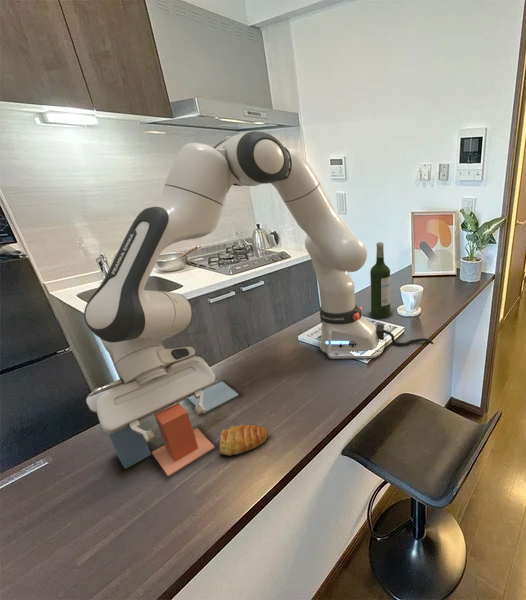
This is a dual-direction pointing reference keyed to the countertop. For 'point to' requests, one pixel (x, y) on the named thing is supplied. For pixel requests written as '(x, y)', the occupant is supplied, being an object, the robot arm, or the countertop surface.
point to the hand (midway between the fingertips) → (177, 425)
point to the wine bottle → (380, 285)
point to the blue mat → (215, 396)
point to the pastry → (241, 439)
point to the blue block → (129, 446)
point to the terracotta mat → (172, 466)
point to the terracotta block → (176, 431)
